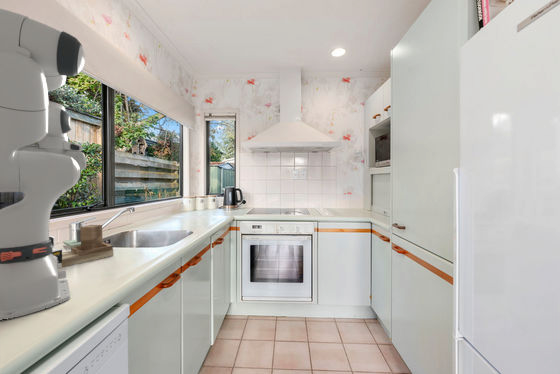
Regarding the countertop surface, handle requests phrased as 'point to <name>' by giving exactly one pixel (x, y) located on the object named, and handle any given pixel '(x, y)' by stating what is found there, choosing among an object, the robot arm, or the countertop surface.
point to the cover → (74, 242)
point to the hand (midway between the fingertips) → (54, 180)
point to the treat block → (91, 237)
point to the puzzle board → (85, 254)
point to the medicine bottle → (56, 250)
